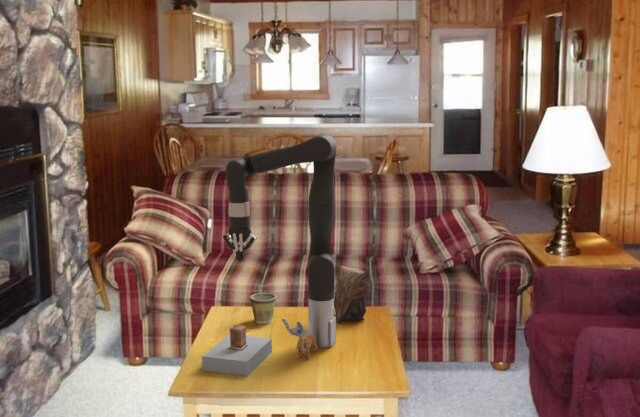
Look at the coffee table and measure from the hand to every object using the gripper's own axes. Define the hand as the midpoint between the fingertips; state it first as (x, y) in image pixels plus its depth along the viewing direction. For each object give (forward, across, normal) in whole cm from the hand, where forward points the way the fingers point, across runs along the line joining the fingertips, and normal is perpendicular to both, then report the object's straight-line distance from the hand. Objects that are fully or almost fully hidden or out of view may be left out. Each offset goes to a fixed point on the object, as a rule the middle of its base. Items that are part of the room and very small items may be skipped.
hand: (240, 260), depth 285 cm
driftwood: (+30, -16, -14) cm, 37 cm away
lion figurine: (+29, -30, +11) cm, 43 cm away
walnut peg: (+29, -8, +22) cm, 37 cm away
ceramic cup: (+29, -1, -20) cm, 35 cm away
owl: (+29, -31, -31) cm, 53 cm away
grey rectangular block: (+29, -8, +22) cm, 37 cm away
